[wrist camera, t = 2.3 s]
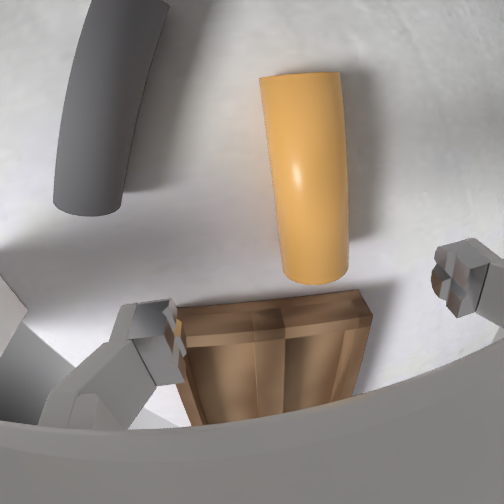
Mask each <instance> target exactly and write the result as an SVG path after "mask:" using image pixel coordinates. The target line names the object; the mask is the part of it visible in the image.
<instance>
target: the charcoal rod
mask: <svg viewBox="0 0 504 504" xmlns="http://www.w3.org/2000/svg"><path fill="white" fill-rule="evenodd" d="M168 10H169V5H168V4H167V3H165V2H163V1H161V0H92V2H91V4H90V7H89V10H88V13H87V16H86V19H85V22H84V25H83V28H82V32H81V35H80V38H79V42H78V46H77V49H76V53H75V57H74V61H73V65H72V69H71V73H70V77H69V82H68V87H67V91H66V97H65V102H64V107H63V113H62V119H61V126H60V132H59V140H58V148H57V157H56V167H55V178H54V194H53V203H54V205H55V206H56V207H57V208H58V209H60V210H62V211H64V212H66V213H69V214H73V215H78V216H102V215H107V214H110V213H113V212H115V211H116V210H118V209H119V208H120V206H121V201H122V194H123V188H124V181H125V175H126V170H127V164H128V158H129V153H130V148H131V143H132V138H133V133H134V129H135V124H136V120H137V115H138V111H139V107H140V103H141V99H142V95H143V91H144V87H145V83H146V80H147V76H148V72H149V69H150V65H151V62H152V59H153V55H154V52H155V49H156V46H157V42H158V39H159V36H160V33H161V30H162V27H163V24H164V21H165V18H166V16H167V13H168Z"/></svg>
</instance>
